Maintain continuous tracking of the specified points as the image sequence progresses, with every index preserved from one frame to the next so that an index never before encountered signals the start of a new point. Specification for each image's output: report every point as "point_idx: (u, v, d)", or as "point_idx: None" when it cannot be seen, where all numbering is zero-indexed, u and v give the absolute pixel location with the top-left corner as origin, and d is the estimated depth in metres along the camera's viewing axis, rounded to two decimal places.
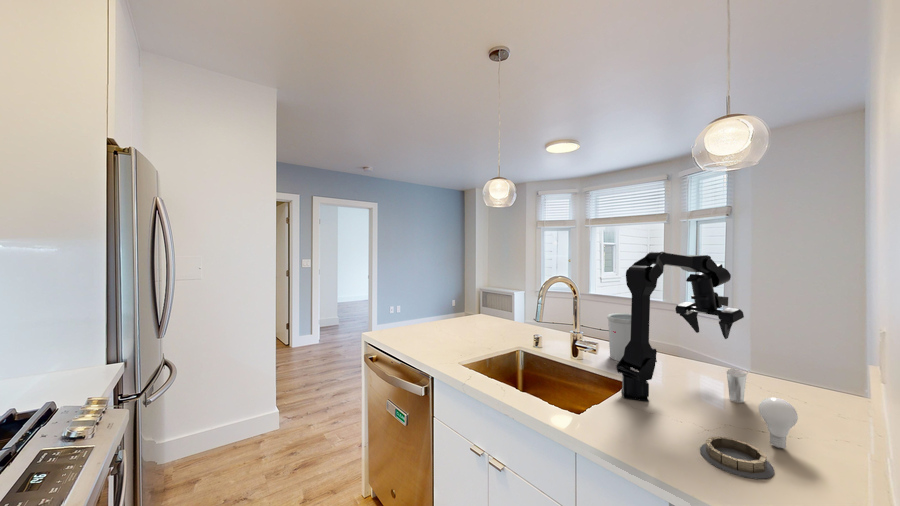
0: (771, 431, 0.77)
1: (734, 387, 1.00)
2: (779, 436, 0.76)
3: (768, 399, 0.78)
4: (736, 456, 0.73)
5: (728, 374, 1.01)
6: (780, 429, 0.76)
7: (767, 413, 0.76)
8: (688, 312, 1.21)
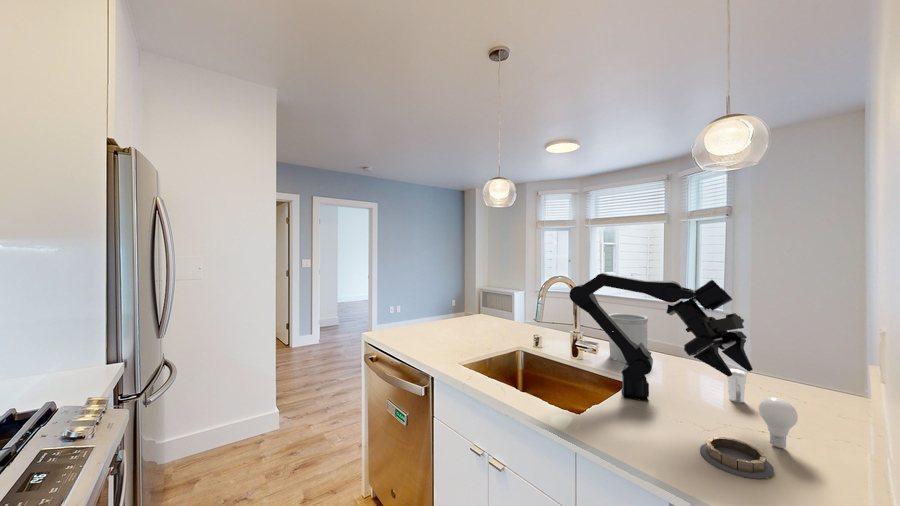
0: (771, 431, 0.77)
1: (734, 387, 1.00)
2: (779, 436, 0.76)
3: (768, 399, 0.78)
4: (736, 456, 0.73)
5: None
6: (780, 429, 0.76)
7: (767, 413, 0.76)
8: (724, 346, 0.94)
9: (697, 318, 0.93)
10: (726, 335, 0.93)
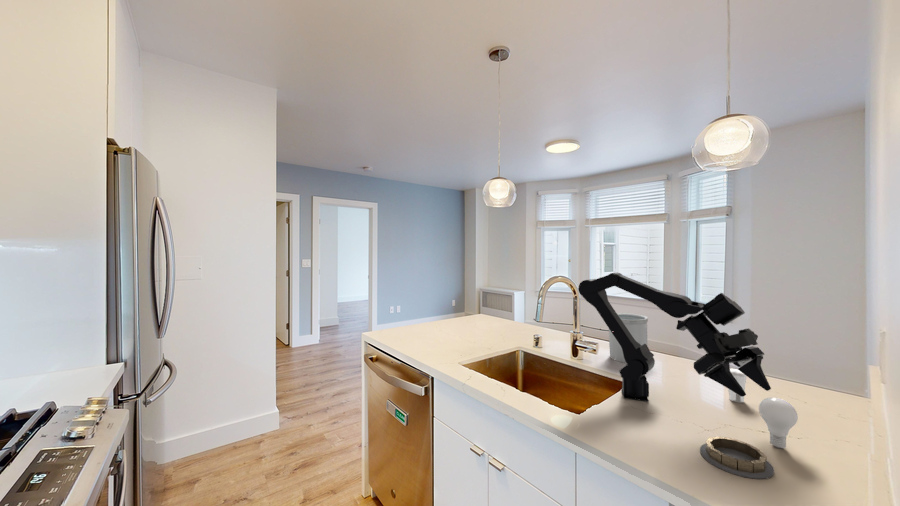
0: (771, 431, 0.77)
1: None
2: (779, 436, 0.76)
3: (768, 399, 0.78)
4: (736, 456, 0.73)
5: None
6: (780, 429, 0.76)
7: (767, 413, 0.76)
8: (740, 363, 0.89)
9: (708, 334, 0.89)
10: (741, 351, 0.89)
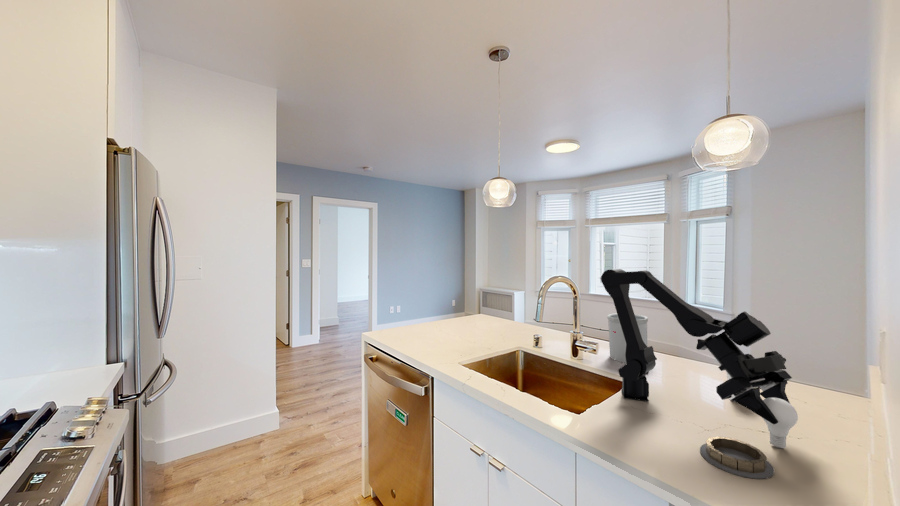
0: (771, 431, 0.77)
1: None
2: (779, 436, 0.76)
3: (768, 399, 0.78)
4: (736, 456, 0.73)
5: (728, 374, 1.01)
6: (780, 429, 0.75)
7: None
8: (762, 387, 0.83)
9: (731, 356, 0.84)
10: (767, 374, 0.83)
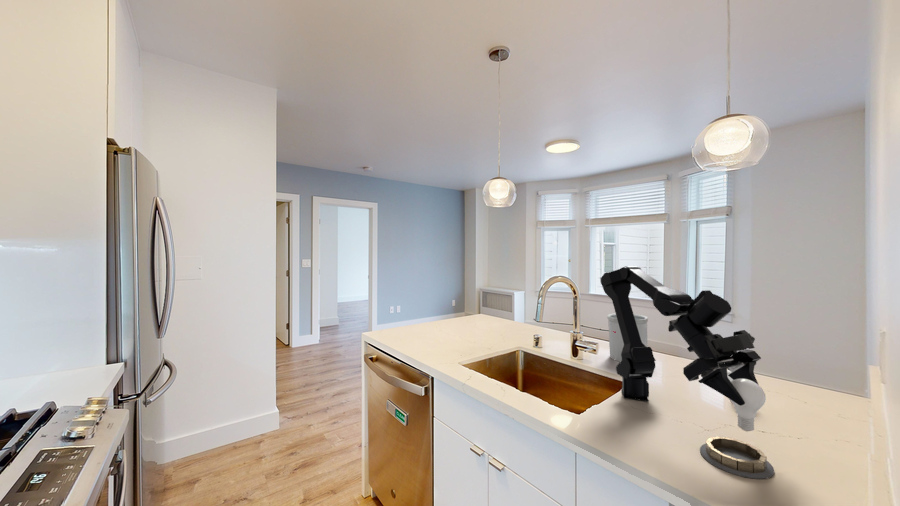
0: (739, 413, 0.73)
1: None
2: (747, 418, 0.72)
3: (736, 380, 0.74)
4: (736, 456, 0.73)
5: (728, 374, 1.01)
6: (747, 411, 0.72)
7: None
8: (731, 368, 0.80)
9: (699, 336, 0.80)
10: (736, 355, 0.80)
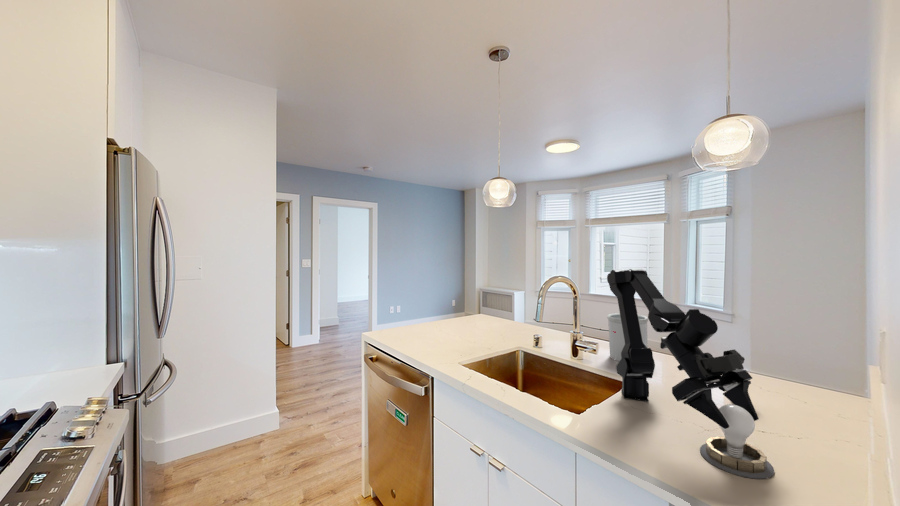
0: (728, 440, 0.73)
1: None
2: (735, 446, 0.72)
3: (725, 406, 0.74)
4: None
5: None
6: (736, 438, 0.71)
7: None
8: (726, 387, 0.79)
9: (689, 355, 0.79)
10: (727, 374, 0.79)
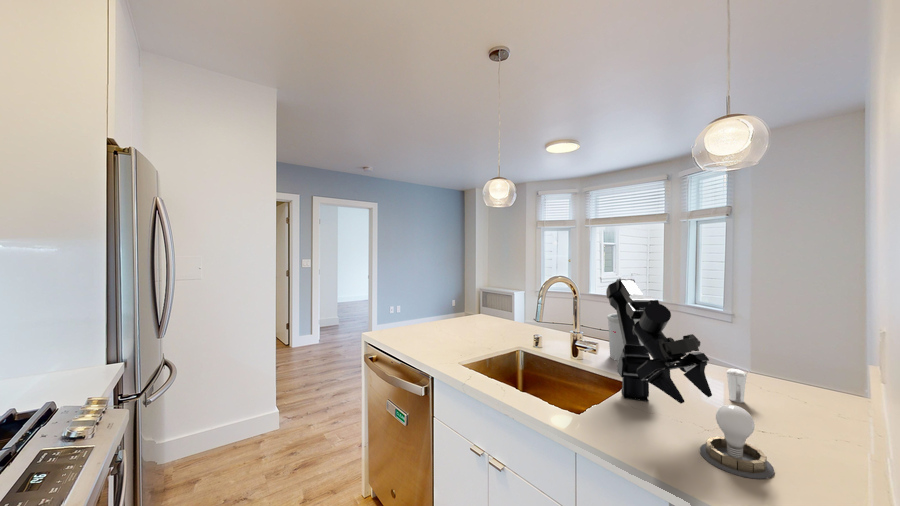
0: (728, 441, 0.73)
1: (734, 387, 1.00)
2: (735, 446, 0.72)
3: (725, 407, 0.73)
4: None
5: (728, 374, 1.01)
6: (736, 438, 0.71)
7: (723, 421, 0.72)
8: (686, 368, 0.88)
9: (653, 339, 0.88)
10: (687, 357, 0.88)
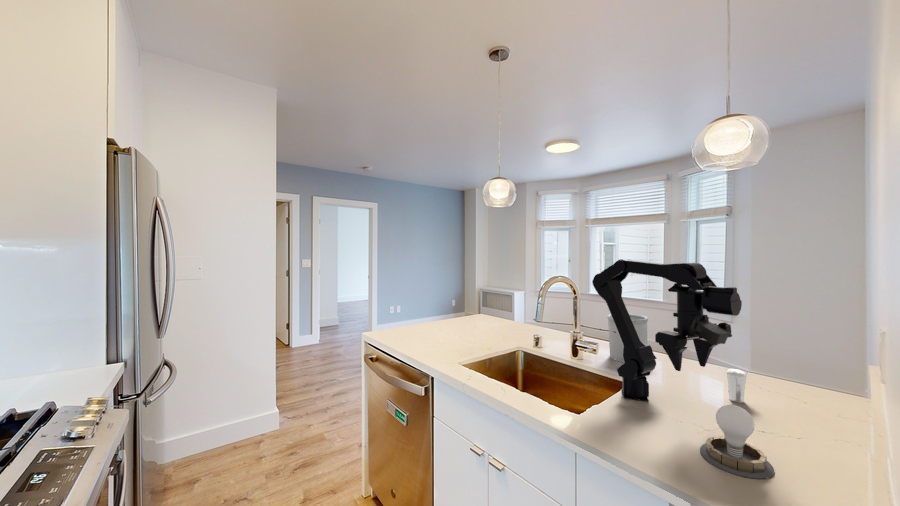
0: (728, 441, 0.73)
1: (734, 387, 1.00)
2: (735, 446, 0.72)
3: (725, 407, 0.73)
4: None
5: (728, 374, 1.01)
6: (736, 438, 0.71)
7: (723, 421, 0.72)
8: None
9: (690, 313, 0.89)
10: None
